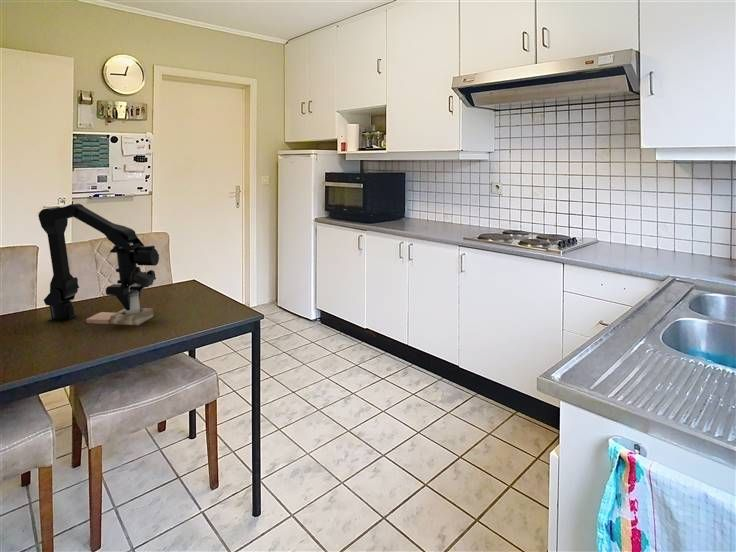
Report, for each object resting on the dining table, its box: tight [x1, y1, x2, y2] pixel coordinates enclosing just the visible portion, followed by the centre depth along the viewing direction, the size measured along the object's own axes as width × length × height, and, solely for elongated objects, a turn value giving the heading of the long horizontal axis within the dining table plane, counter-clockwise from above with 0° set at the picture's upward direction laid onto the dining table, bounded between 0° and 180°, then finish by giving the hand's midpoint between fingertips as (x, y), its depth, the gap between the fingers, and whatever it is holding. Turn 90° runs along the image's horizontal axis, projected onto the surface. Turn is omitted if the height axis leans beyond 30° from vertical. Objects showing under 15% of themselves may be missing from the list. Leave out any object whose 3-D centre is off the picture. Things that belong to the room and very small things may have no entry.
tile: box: [85, 311, 116, 325], centre depth 172 cm, size 8×8×2 cm
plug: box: [124, 290, 141, 315], centre depth 171 cm, size 5×5×10 cm
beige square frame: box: [110, 307, 154, 326], centre depth 172 cm, size 10×10×3 cm
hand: (132, 308), depth 171 cm, fingers closed on plug, 5 cm apart
